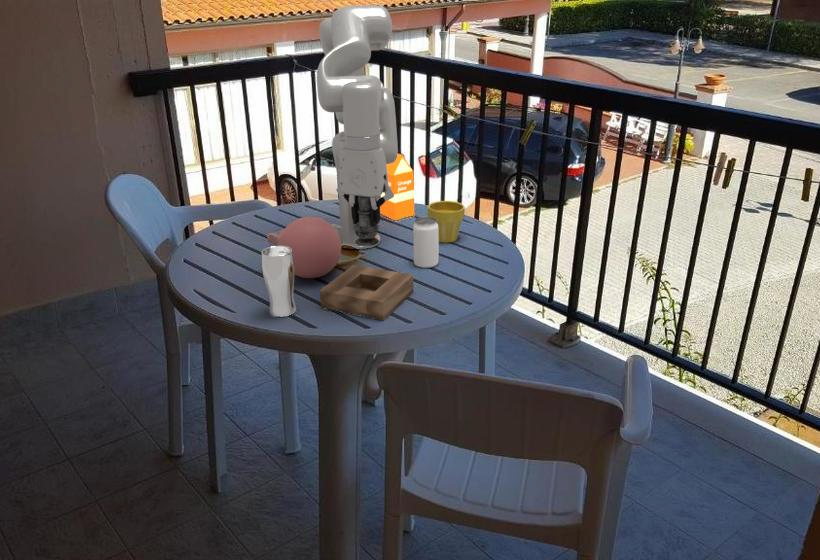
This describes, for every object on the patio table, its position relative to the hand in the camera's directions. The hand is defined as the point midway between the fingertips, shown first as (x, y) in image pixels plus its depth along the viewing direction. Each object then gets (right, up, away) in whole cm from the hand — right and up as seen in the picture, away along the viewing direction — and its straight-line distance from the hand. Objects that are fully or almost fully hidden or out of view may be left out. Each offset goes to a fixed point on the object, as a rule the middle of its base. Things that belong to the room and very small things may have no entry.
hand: (366, 222), depth 153 cm
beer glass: (-19, -20, +3) cm, 28 cm away
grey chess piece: (0, -4, +2) cm, 5 cm away
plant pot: (+20, -1, +43) cm, 48 cm away
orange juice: (+5, +7, +63) cm, 63 cm away
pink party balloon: (-17, -12, +22) cm, 30 cm away
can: (+14, -9, +27) cm, 31 cm away
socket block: (0, -17, +8) cm, 19 cm away
